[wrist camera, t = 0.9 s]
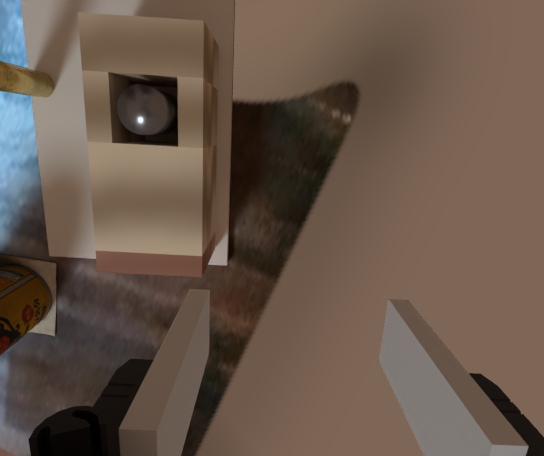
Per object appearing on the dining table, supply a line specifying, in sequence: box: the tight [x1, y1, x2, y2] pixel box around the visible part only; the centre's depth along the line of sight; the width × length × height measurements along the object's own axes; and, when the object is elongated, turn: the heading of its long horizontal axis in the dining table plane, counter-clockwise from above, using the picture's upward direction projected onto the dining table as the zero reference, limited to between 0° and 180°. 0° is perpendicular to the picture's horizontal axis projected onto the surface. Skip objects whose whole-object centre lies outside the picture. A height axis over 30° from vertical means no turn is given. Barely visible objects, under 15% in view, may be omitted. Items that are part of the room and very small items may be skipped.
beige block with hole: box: [78, 12, 219, 277], centre depth 25 cm, size 16×7×6 cm, turn 177°
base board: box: [21, 0, 235, 265], centre depth 28 cm, size 22×15×1 cm
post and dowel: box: [0, 61, 178, 135], centre depth 24 cm, size 4×12×8 cm, turn 87°
